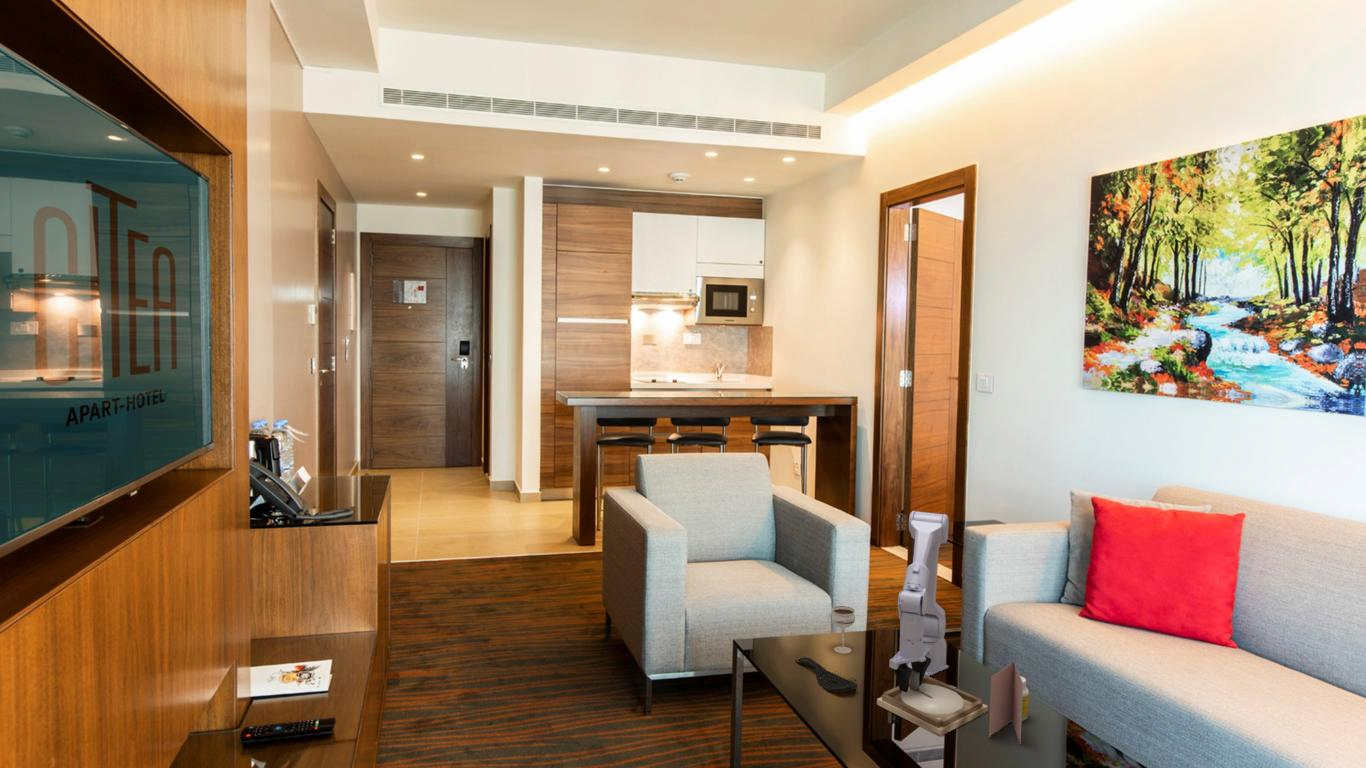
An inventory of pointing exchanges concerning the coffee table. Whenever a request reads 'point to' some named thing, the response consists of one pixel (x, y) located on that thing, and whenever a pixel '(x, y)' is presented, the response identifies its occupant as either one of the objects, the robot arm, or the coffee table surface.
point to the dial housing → (933, 724)
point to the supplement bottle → (1025, 699)
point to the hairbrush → (829, 677)
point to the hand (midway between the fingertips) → (910, 687)
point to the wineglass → (843, 623)
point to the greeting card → (1006, 699)
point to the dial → (931, 698)
